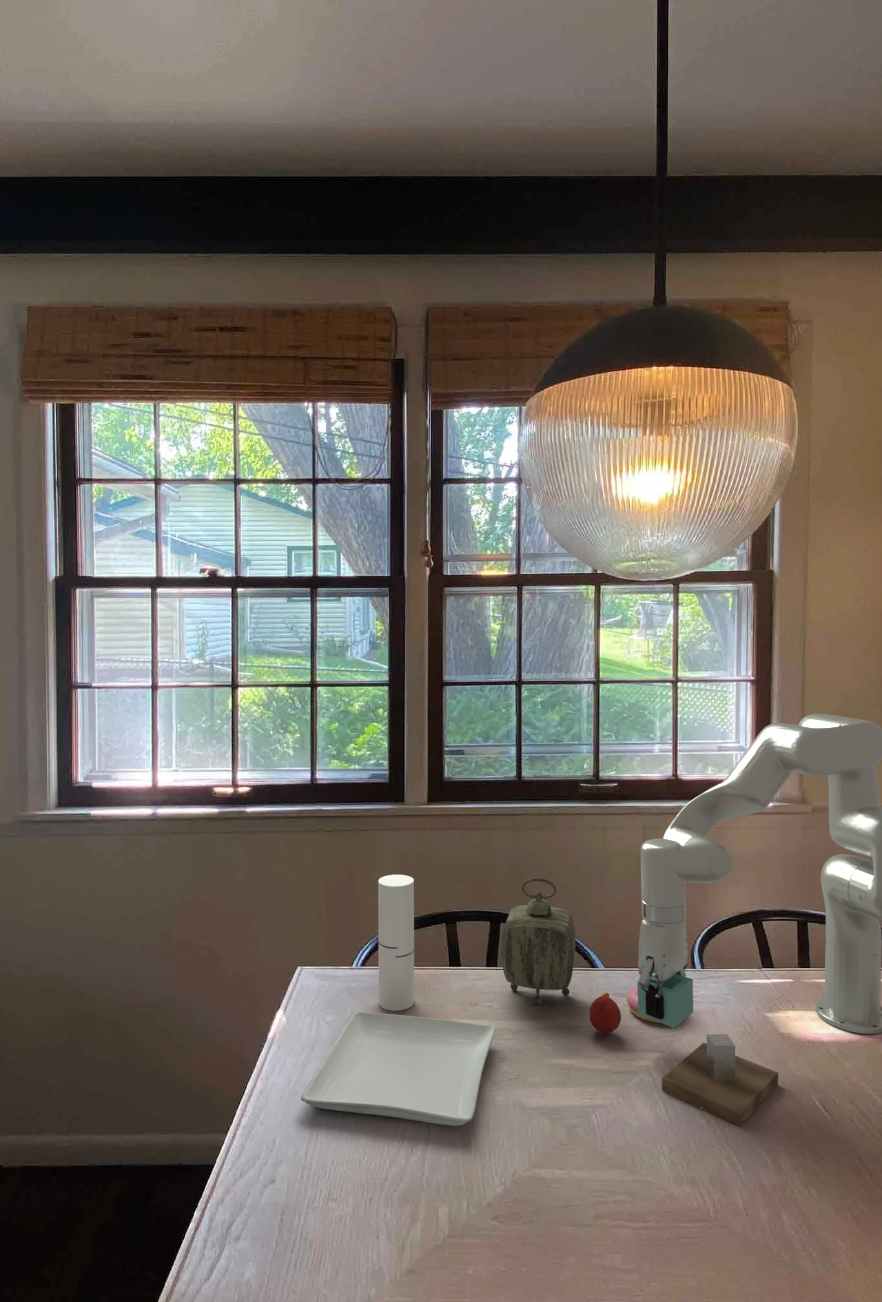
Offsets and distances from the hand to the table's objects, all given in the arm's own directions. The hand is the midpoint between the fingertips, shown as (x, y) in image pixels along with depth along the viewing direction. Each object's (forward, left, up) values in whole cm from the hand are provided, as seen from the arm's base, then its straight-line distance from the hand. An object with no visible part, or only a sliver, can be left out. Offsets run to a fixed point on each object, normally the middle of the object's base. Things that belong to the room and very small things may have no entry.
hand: (665, 1007), depth 136 cm
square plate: (+38, -28, -9) cm, 48 cm away
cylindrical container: (+22, -48, -8) cm, 53 cm away
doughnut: (-12, -8, -9) cm, 17 cm away
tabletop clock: (+1, -28, -8) cm, 29 cm away
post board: (+3, +12, -8) cm, 15 cm away
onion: (+3, -11, -8) cm, 14 cm away
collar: (0, 0, -1) cm, 1 cm away
